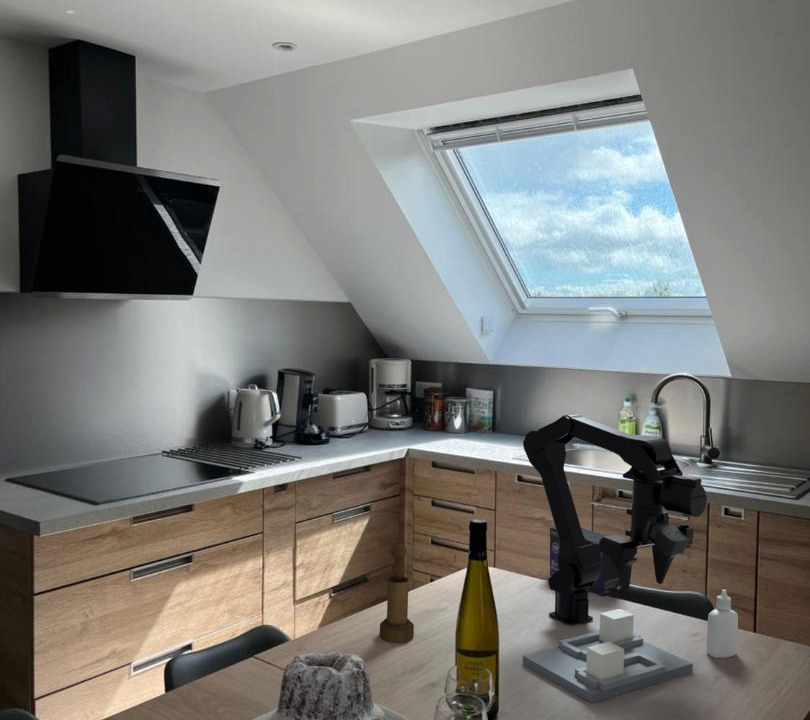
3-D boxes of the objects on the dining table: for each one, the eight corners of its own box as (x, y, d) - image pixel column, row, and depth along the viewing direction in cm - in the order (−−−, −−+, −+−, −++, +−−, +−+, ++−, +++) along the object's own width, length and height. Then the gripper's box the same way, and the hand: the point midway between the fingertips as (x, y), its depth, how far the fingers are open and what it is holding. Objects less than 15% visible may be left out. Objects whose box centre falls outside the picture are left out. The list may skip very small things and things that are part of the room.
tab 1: (599, 639, 155) (600, 613, 155) (618, 634, 158) (619, 608, 158) (613, 646, 152) (614, 619, 152) (632, 641, 155) (633, 614, 155)
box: (547, 576, 198) (549, 526, 197) (568, 571, 201) (569, 522, 201) (601, 597, 184) (602, 543, 183) (622, 592, 187) (624, 539, 187)
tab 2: (586, 676, 139) (587, 647, 139) (607, 670, 142) (608, 641, 142) (601, 685, 136) (602, 655, 136) (623, 678, 139) (624, 648, 139)
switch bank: (522, 663, 148) (522, 649, 148) (619, 638, 160) (620, 625, 160) (592, 703, 133) (592, 688, 133) (693, 671, 146) (693, 657, 146)
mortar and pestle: (419, 640, 157) (421, 546, 156) (386, 645, 155) (388, 549, 154) (406, 628, 163) (408, 537, 162) (374, 632, 161) (376, 539, 160)
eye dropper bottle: (702, 648, 156) (705, 585, 156) (734, 650, 156) (737, 587, 155) (708, 658, 152) (711, 593, 151) (740, 660, 151) (743, 595, 151)
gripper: (645, 521, 145) (640, 609, 146) (716, 510, 154) (711, 593, 155) (599, 506, 154) (594, 589, 155) (669, 497, 164) (664, 575, 165)
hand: (642, 586), depth 158 cm, fingers open, 9 cm apart
